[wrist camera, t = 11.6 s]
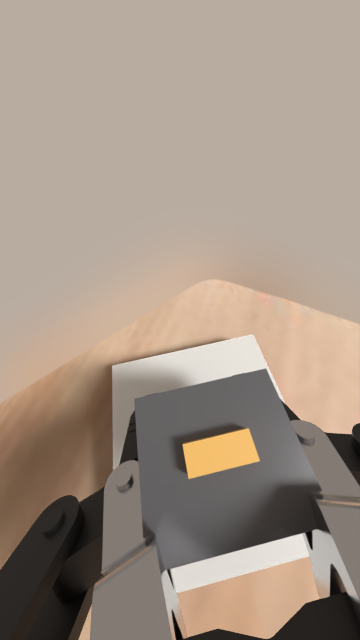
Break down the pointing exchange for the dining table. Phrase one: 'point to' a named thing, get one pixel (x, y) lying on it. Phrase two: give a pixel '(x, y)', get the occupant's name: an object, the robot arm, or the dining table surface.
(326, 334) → the dining table surface
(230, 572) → the dock
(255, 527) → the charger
